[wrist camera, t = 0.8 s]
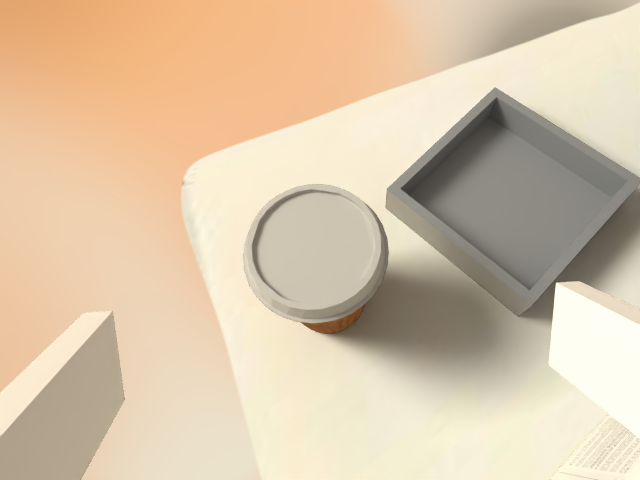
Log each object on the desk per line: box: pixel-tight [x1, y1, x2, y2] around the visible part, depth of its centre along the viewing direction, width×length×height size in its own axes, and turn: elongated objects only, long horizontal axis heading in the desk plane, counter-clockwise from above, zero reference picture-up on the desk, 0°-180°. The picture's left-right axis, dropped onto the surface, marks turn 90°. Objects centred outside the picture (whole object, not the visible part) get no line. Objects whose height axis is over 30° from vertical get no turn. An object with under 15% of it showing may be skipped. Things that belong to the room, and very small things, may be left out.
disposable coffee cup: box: [243, 184, 389, 333], centre depth 34 cm, size 10×10×12 cm
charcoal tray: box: [386, 88, 640, 316], centre depth 40 cm, size 15×15×4 cm
